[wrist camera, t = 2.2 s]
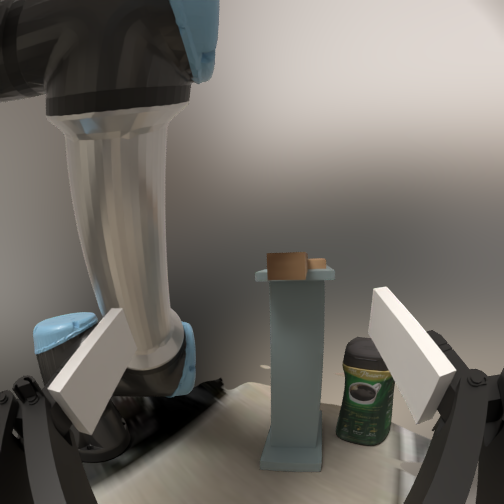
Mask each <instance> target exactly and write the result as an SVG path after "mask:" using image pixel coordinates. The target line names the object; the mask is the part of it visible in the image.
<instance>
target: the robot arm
mask: <svg viewBox="0 0 504 504" xmlns="http://www.w3.org/2000/svg"><path fill="white" fill-rule="evenodd" d="M218 25H219V0H0V102H7V101H14V100H20V99H25V98H30V97H35V96H39V95H43V94H46V119H47V120H48V121H50V122H51V123H52V124H53V125H55V126H56V127H58V128H59V129H60V130H61V131H62V132H63V134H64V135H65V142H66V155H67V164H68V165H67V166H68V175H69V182H70V189H71V196H72V202H73V208H74V214H75V219H76V224H77V229H78V234H79V238H80V242H81V246H82V251H83V254H84V258H85V262H86V266H87V269H88V273H89V276H90V279H91V283H92V287H93V289H94V293H95V296H96V299H97V302H98V305H99V308H100V311H101V313H102V316H103V319H102V320H101V321H100V322H99V323H97V322H98V319H97V318H96V315H95V314H94V313H88V312H81V313H73V314H66V315H61V316H57V317H53V318H50V319H46V320H44V321H42V322H40V323H38V324H37V325H36V327H35V328H34V332H33V336H34V345H35V354H36V356H37V360H38V364H39V368H40V373H41V376H42V379H43V383H44V388H43V389H42V390H41V388H40V387H39V386H38V384H37V382H36V381H35V379H34V378H33V377H32V376H23V377H21V378H20V379H18V380H17V381H16V382H15V383H14V385H13V388H12V389H13V391H14V392H15V393H16V395H17V396H18V398H19V399H16V398H15V396H14V395H13V393H12V392H11V391H8V390H6V391H2V392H0V504H98V503H97V501H96V498H95V496H94V494H93V491H92V489H91V486H90V484H89V481H88V479H87V476H86V473H85V470H84V467H83V464H82V461H83V462H100V461H105V460H109V459H112V458H114V457H116V456H118V455H119V454H121V453H122V452H123V451H124V450H125V449H126V448H127V447H128V445H129V443H130V433H129V430H128V426H127V424H126V422H125V420H124V419H123V418H122V416H121V415H120V413H119V412H118V410H117V409H116V407H115V405H114V404H113V402H112V401H111V396H129V397H159V396H166V397H174V396H177V395H186V394H188V393H190V392H191V391H192V389H193V387H194V383H195V373H196V370H195V363H196V353H195V341H194V334H193V330H192V327H191V325H190V324H188V323H186V322H182V321H181V320H180V318H179V316H178V315H177V314H176V313H175V312H174V311H173V310H172V309H171V308H170V300H169V288H168V274H167V256H166V230H165V229H166V227H165V172H166V144H167V128H168V124H169V122H170V121H171V119H173V118H174V117H175V116H176V115H177V114H178V113H179V112H181V111H182V110H183V109H184V108H185V107H186V106H187V105H188V104H189V97H190V88H191V83H193V82H195V83H197V84H200V83H202V82H206V81H208V80H209V79H210V78H211V77H212V74H213V70H214V65H215V48H216V44H217V39H218ZM368 333H369V335H370V337H371V339H372V340H373V342H374V344H375V346H376V348H377V349H378V351H379V353H380V355H381V357H382V358H383V360H384V362H385V364H386V366H387V368H388V369H389V371H390V373H391V375H392V377H393V379H394V381H395V383H396V385H397V386H398V388H399V390H400V392H401V394H402V396H403V398H404V400H405V402H406V404H407V406H408V408H409V410H410V412H411V414H412V416H413V418H414V420H415V423H416V424H419V423H421V422H424V421H427V420H430V419H432V418H433V416H434V414H435V412H436V411H437V410H438V412H439V413H440V415H441V416H440V418H439V419H438V421H437V423H436V424H435V426H434V427H433V429H432V431H434V430H435V431H434V434H433V437H432V440H431V443H430V446H429V449H428V451H427V454H426V456H425V459H424V461H423V464H422V466H421V468H420V471H419V473H418V475H417V477H416V480H415V482H414V484H413V486H412V488H411V490H410V492H409V494H408V496H407V498H406V500H405V502H404V504H465V502H466V499H467V497H468V494H469V491H470V488H471V485H472V481H473V478H474V475H475V471H476V467H477V463H478V459H479V464H478V485H477V496H476V504H504V368H503V370H502V372H501V374H500V375H494V376H487V375H486V374H485V373H484V372H482V371H480V370H478V369H469V368H468V367H467V366H466V364H465V363H464V362H463V361H462V360H461V358H460V357H459V356H458V355H457V354H456V352H455V351H454V350H452V347H451V346H450V345H449V344H447V341H446V340H445V339H444V338H443V337H442V336H441V335H440V334H438V333H436V332H435V331H433V330H431V331H427V332H426V331H425V330H424V329H423V328H422V326H421V325H420V324H419V323H418V322H417V321H416V319H415V318H414V317H413V316H412V315H411V314H410V312H409V311H408V310H407V309H406V308H405V307H404V306H403V304H402V303H401V302H400V301H399V300H398V299H397V298H396V297H395V296H394V294H393V293H392V292H391V291H390V290H389V289H388V288H387V287H381V288H374V289H373V299H372V307H371V316H370V323H369V331H368ZM13 429H14V430H15V431H16V432H17V433H18V437H17V438H16V437H15V436H14V435H13V434H12V431H13Z"/></svg>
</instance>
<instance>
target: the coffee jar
mask: <svg viewBox="0 0 504 504" xmlns="http://www.w3.org/2000/svg"><path fill="white" fill-rule="evenodd" d="M343 370H344V373H345V390H344V396H343V401H342V406H341V410H340V414H339V418H338V422H337V427H336V434H337V436H338V437H339V438H341V439H343V440H346V441H349V442H352V443H357V444H362V445H376V444H378V443H380V442H382V441H383V440H384V439H385V438H386V436H387V435H388V433H389V430H390V425H391V417H392V405H393V393H394V385H395V381H394V379H393V377H392V375H391V373H390V371H389V369H388V368H387V366H386V364H385V362H384V360H383V358H382V357H381V355H380V353H379V351H378V349H377V348H376V346H375V344H374V342H373V340H372V339H371V338H362V337H357V338H355V339H353V340H351V341H350V342H349V343H348V344H347V346H346V350H345V355H344V360H343Z"/></svg>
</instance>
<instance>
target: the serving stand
mask: <svg viewBox="0 0 504 504" xmlns="http://www.w3.org/2000/svg"><path fill="white" fill-rule="evenodd" d="M324 280H335V270H333V269H332V268H330V267H328V266H327V265H326V269H308V270H307V275H306V279H305V280H267V269H265V270H262V271H259V272H255V281H269V282H270V283H269V286H270V333H271V334H270V335H271V337H270V340H271V426H270V430H269V433H268V436H267V440H266V443H265V446H264V449H263V453H262V456H261V459H260V469H262V470H274V471H293V472H320V471H321V465H322V410H320V399H321V386H322V368H323V348H324V303H325V296H324V295H325V291H324Z"/></svg>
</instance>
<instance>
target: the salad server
mask: <svg viewBox="0 0 504 504" xmlns="http://www.w3.org/2000/svg"><path fill="white" fill-rule="evenodd" d="M308 269H326V259H323V258H322V259H321V258H320V259H308V257H307V253H305V252H293V253H267V280H305V279H306V275H307V270H308Z"/></svg>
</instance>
